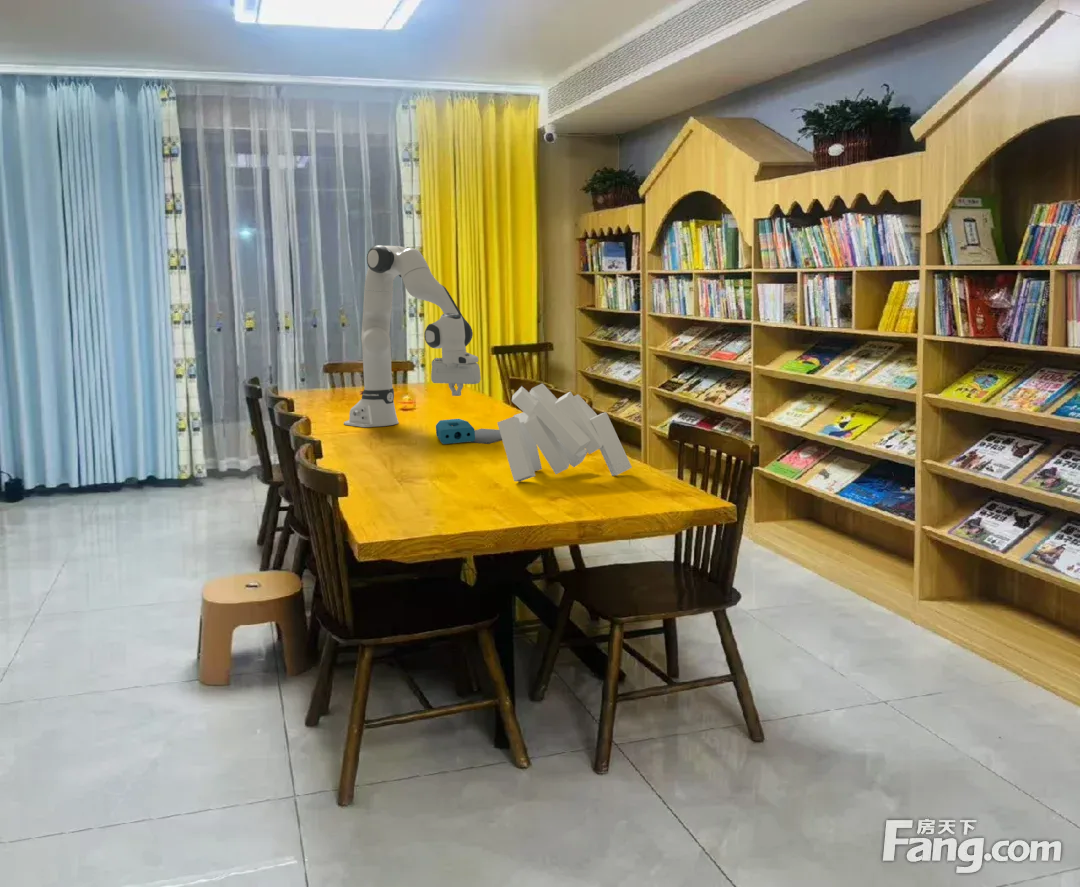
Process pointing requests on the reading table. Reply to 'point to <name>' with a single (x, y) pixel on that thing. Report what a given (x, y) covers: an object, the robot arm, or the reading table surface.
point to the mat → (487, 436)
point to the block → (454, 431)
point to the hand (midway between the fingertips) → (456, 395)
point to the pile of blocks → (557, 434)
